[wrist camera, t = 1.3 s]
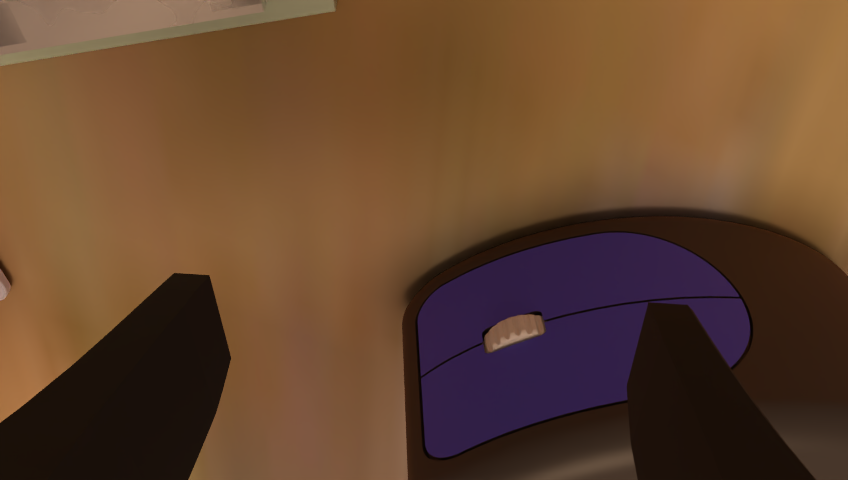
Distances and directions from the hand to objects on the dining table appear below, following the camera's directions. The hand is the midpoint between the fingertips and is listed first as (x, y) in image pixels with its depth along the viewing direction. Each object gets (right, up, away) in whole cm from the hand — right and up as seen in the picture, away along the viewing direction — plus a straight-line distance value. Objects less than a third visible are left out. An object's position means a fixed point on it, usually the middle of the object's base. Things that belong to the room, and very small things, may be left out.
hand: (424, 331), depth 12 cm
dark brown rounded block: (+7, 0, +15) cm, 16 cm away
